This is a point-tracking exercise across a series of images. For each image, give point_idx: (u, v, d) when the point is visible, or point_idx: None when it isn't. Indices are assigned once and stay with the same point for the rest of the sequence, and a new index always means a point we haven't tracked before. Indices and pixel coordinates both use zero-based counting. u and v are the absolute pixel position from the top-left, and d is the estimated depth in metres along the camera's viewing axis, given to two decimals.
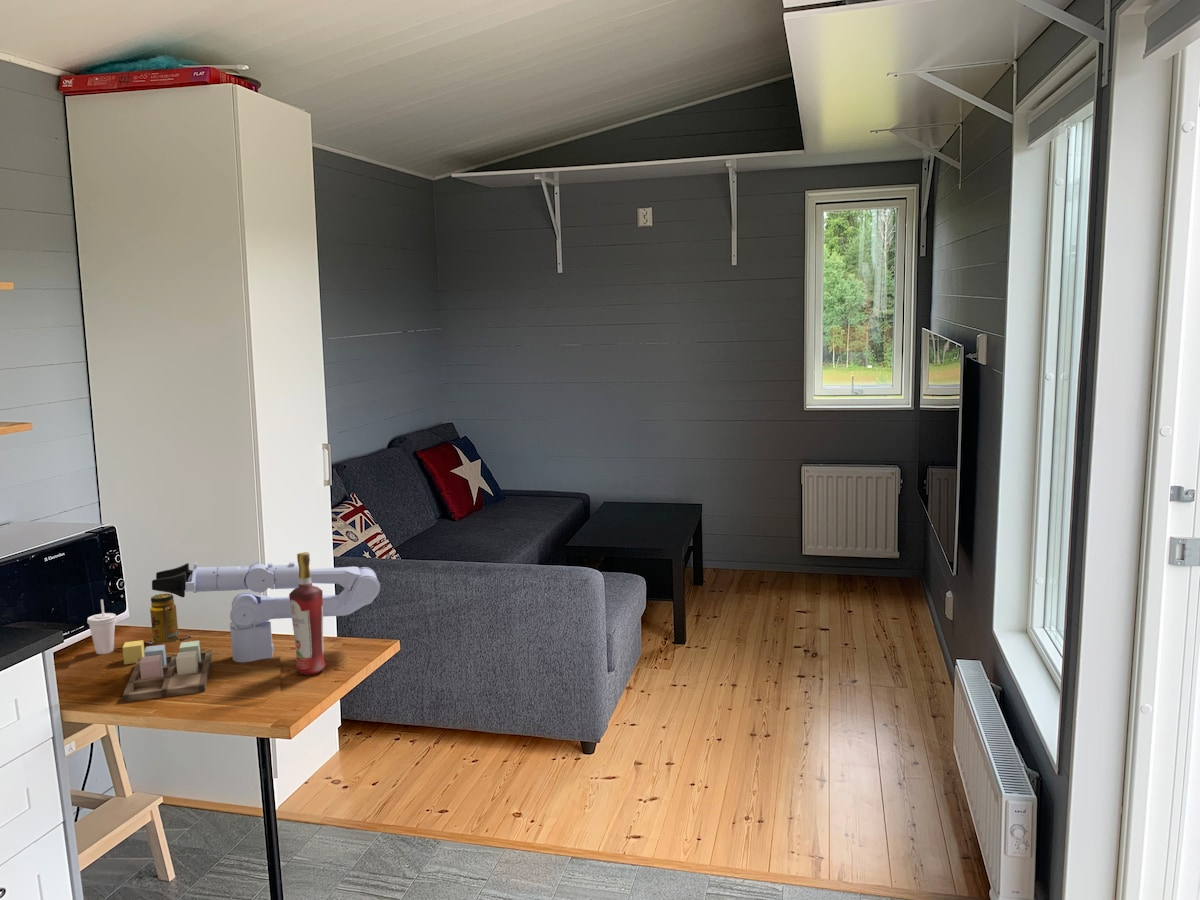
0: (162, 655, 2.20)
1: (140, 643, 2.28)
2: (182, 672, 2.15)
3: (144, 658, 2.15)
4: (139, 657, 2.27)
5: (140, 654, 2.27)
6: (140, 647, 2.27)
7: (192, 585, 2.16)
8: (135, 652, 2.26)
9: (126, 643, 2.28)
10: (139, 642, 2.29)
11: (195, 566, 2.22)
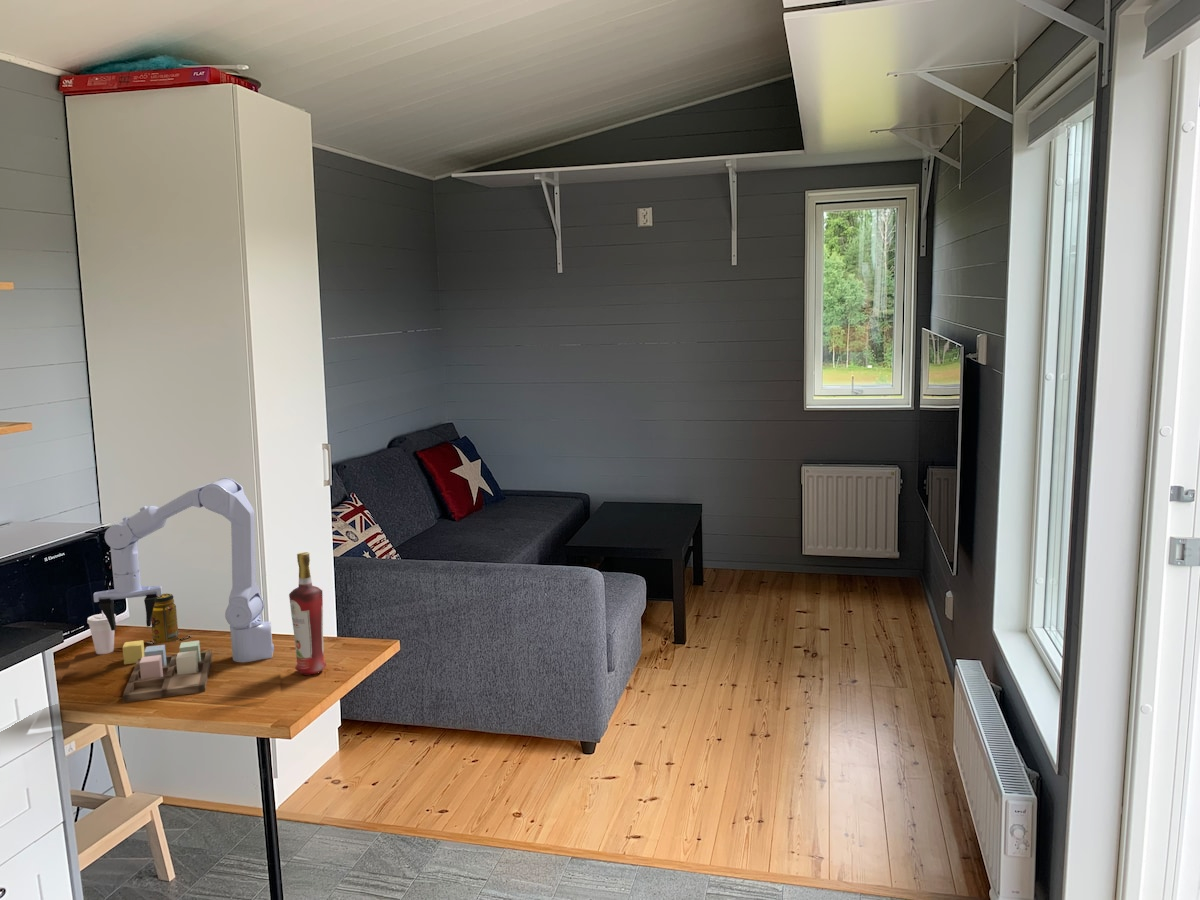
0: (162, 655, 2.20)
1: (140, 643, 2.28)
2: (182, 672, 2.15)
3: (144, 658, 2.15)
4: (139, 657, 2.27)
5: (140, 654, 2.27)
6: (140, 647, 2.27)
7: None
8: (135, 652, 2.26)
9: (126, 643, 2.28)
10: (139, 642, 2.29)
11: None
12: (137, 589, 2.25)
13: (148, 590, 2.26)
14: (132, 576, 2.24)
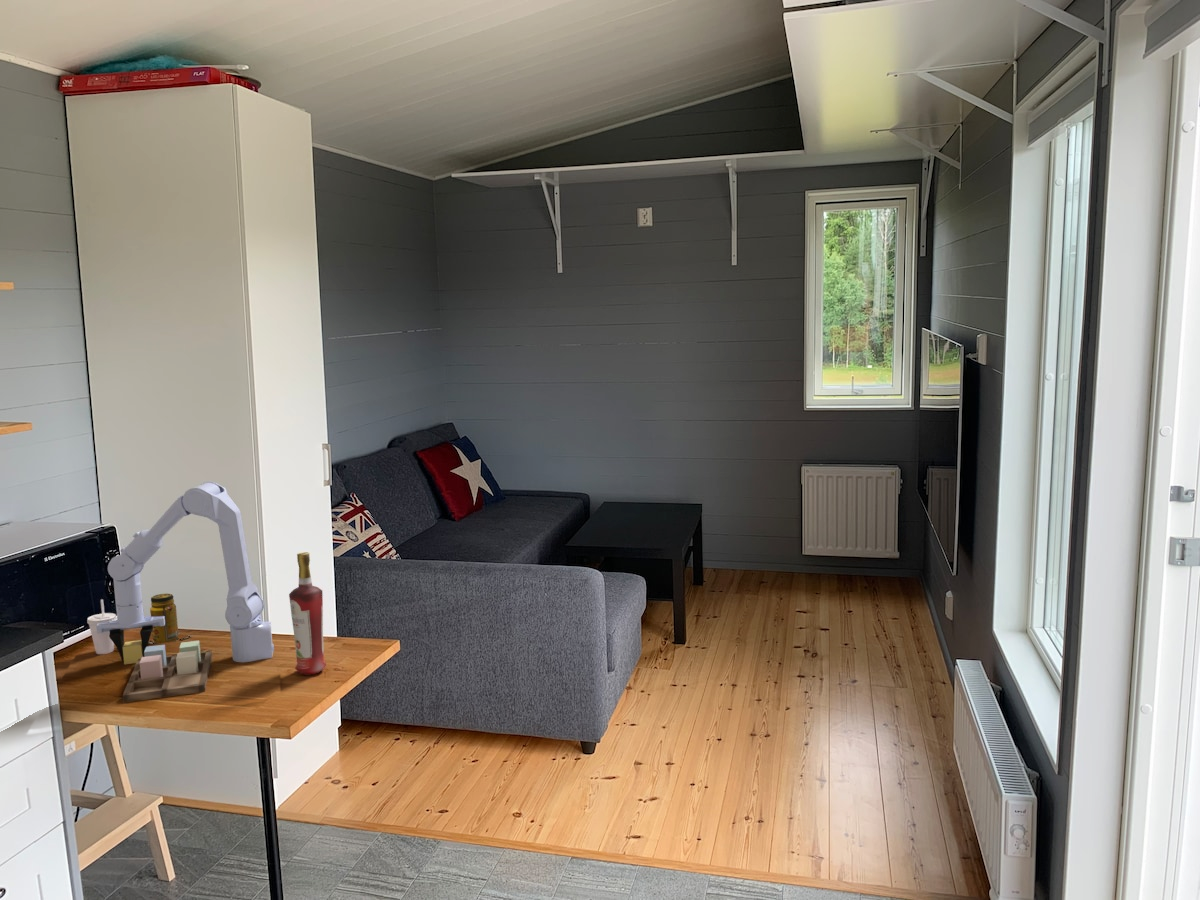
0: (162, 655, 2.20)
1: (140, 643, 2.28)
2: (182, 672, 2.15)
3: (144, 658, 2.15)
4: (139, 657, 2.27)
5: (140, 654, 2.27)
6: (140, 647, 2.27)
7: None
8: (135, 652, 2.26)
9: (126, 643, 2.28)
10: (139, 642, 2.29)
11: None
12: (140, 620, 2.26)
13: (151, 621, 2.27)
14: (135, 607, 2.25)
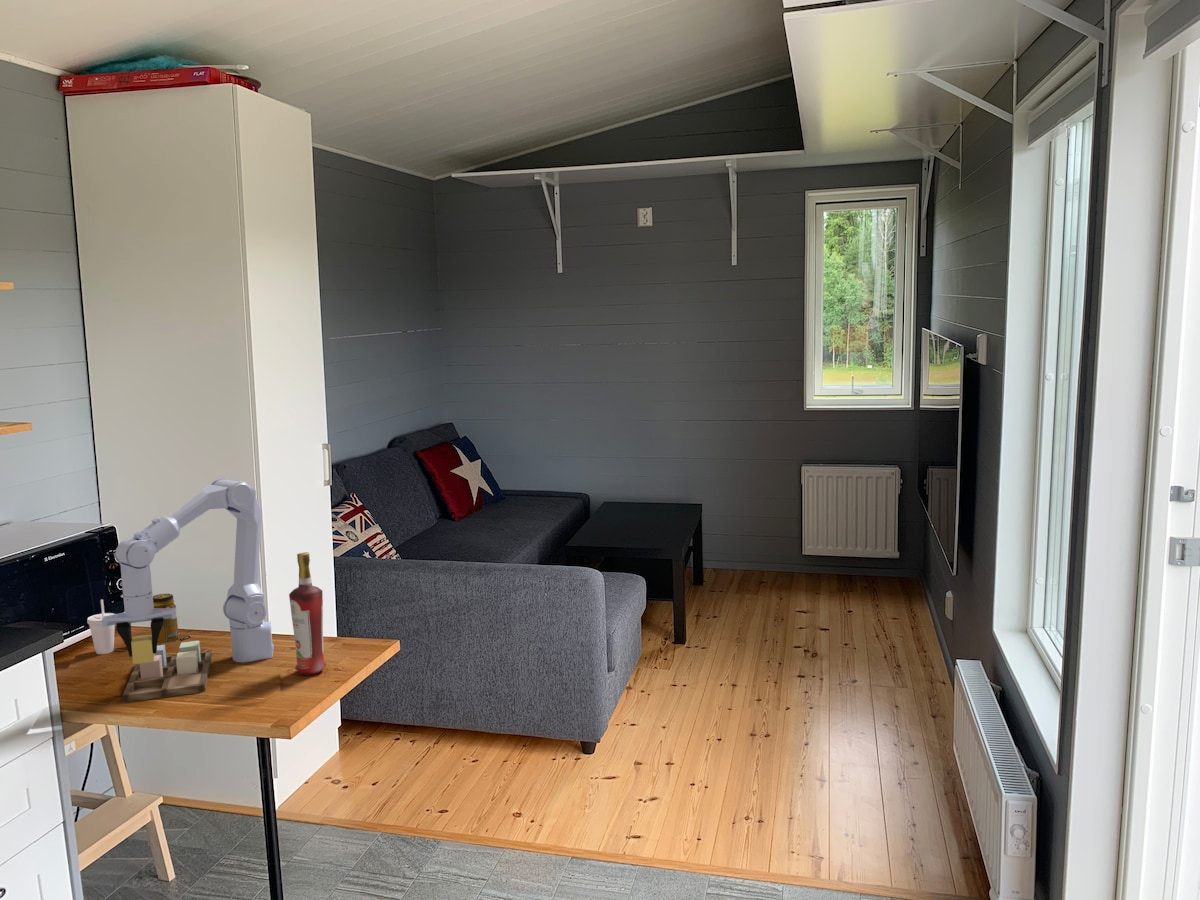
0: (162, 655, 2.20)
1: (150, 637, 2.09)
2: (182, 672, 2.15)
3: None
4: (149, 652, 2.08)
5: (150, 649, 2.08)
6: (150, 641, 2.08)
7: None
8: (145, 647, 2.07)
9: (134, 637, 2.09)
10: (149, 636, 2.10)
11: None
12: (150, 612, 2.07)
13: (162, 613, 2.08)
14: (145, 598, 2.05)
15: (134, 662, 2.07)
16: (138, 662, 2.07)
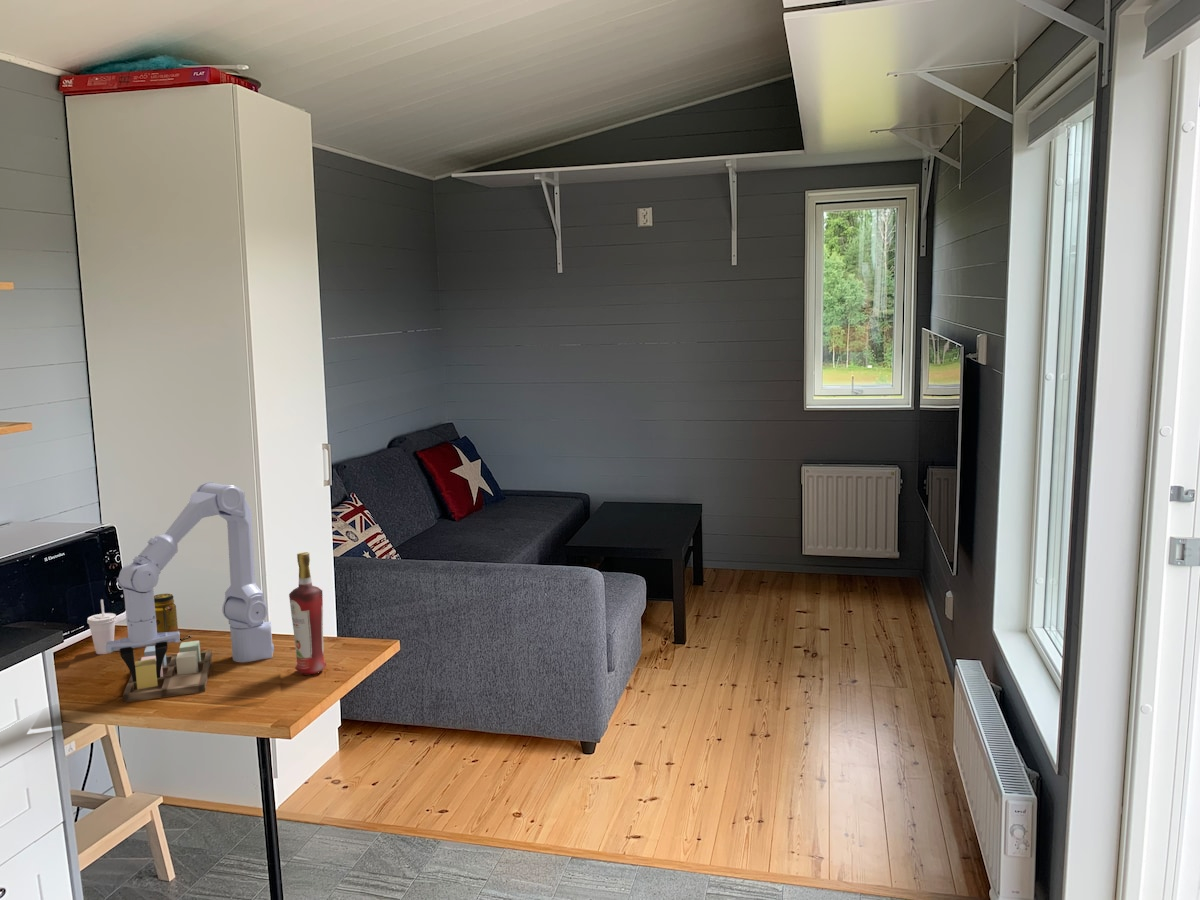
0: None
1: (153, 662, 2.08)
2: (182, 672, 2.15)
3: (144, 658, 2.15)
4: (153, 677, 2.07)
5: (154, 674, 2.07)
6: (154, 666, 2.07)
7: None
8: (149, 672, 2.06)
9: (136, 662, 2.08)
10: (152, 661, 2.09)
11: None
12: (154, 636, 2.06)
13: (166, 637, 2.07)
14: (149, 623, 2.04)
15: (138, 687, 2.06)
16: (142, 687, 2.06)
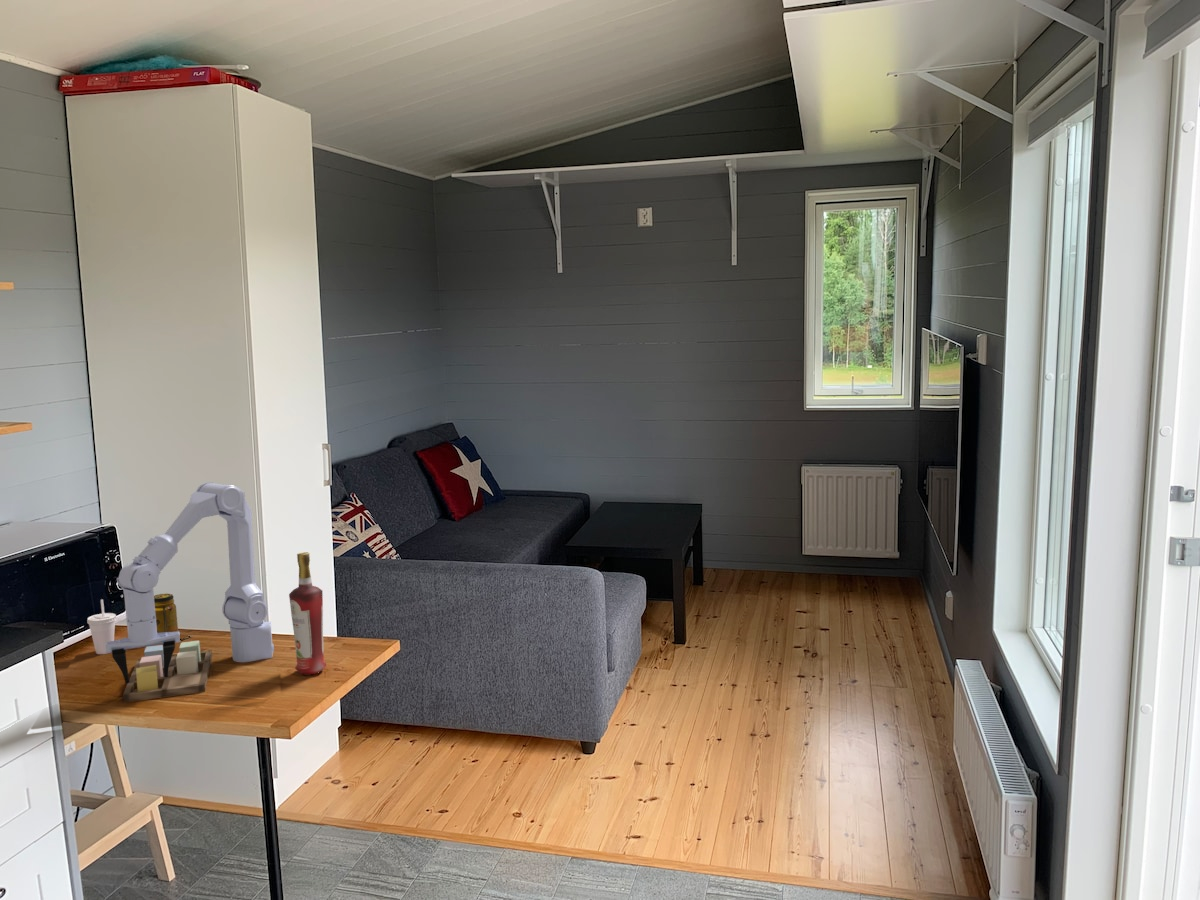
0: (162, 655, 2.20)
1: (154, 668, 2.08)
2: (182, 672, 2.15)
3: (144, 658, 2.15)
4: (154, 684, 2.07)
5: (155, 680, 2.07)
6: (155, 673, 2.07)
7: None
8: (150, 679, 2.07)
9: (137, 669, 2.08)
10: (152, 667, 2.09)
11: None
12: (154, 636, 2.06)
13: (166, 637, 2.07)
14: (149, 623, 2.04)
15: None
16: None
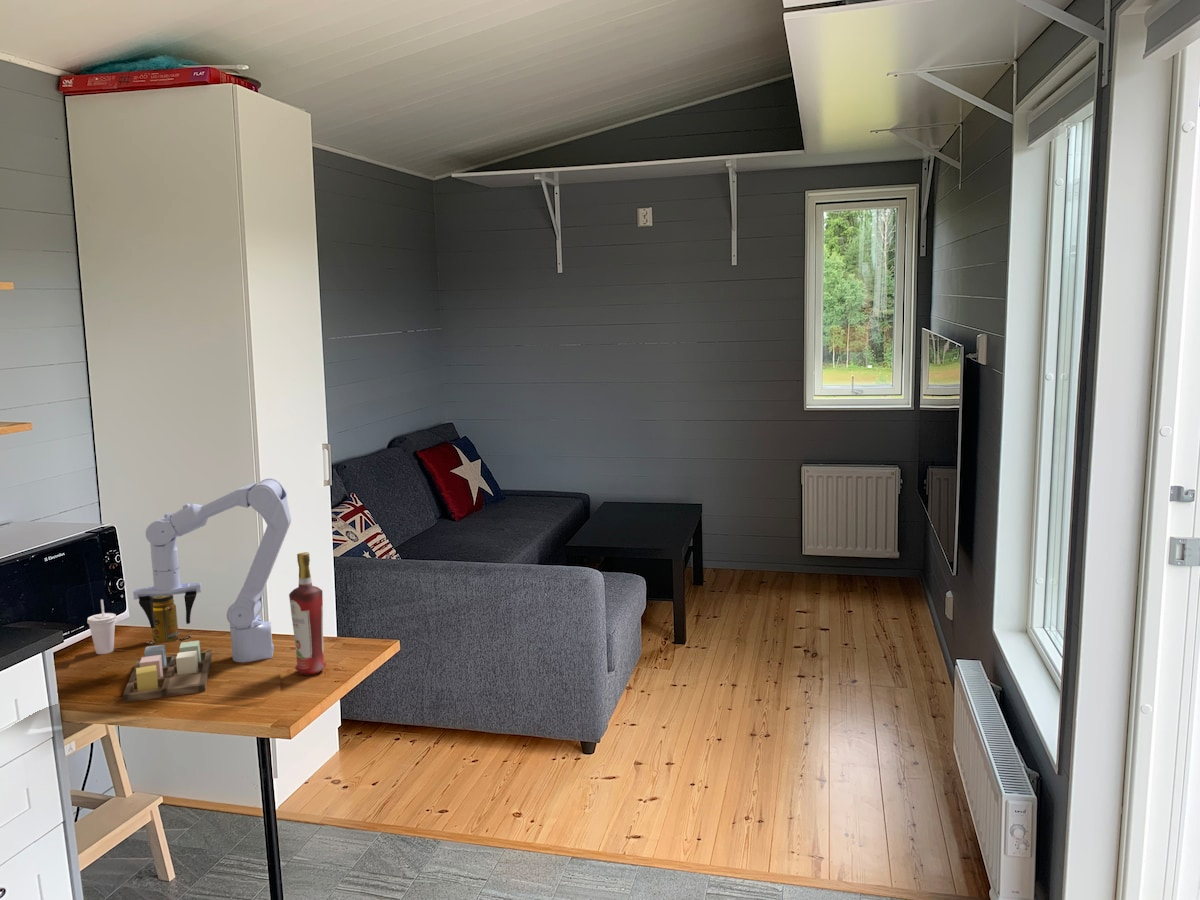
0: (162, 655, 2.20)
1: (154, 668, 2.08)
2: (182, 672, 2.15)
3: (144, 658, 2.15)
4: (154, 684, 2.07)
5: (155, 680, 2.07)
6: (155, 673, 2.07)
7: None
8: (150, 679, 2.07)
9: (137, 669, 2.08)
10: (152, 667, 2.09)
11: None
12: (177, 586, 2.24)
13: (188, 587, 2.25)
14: (172, 573, 2.22)
15: None
16: None
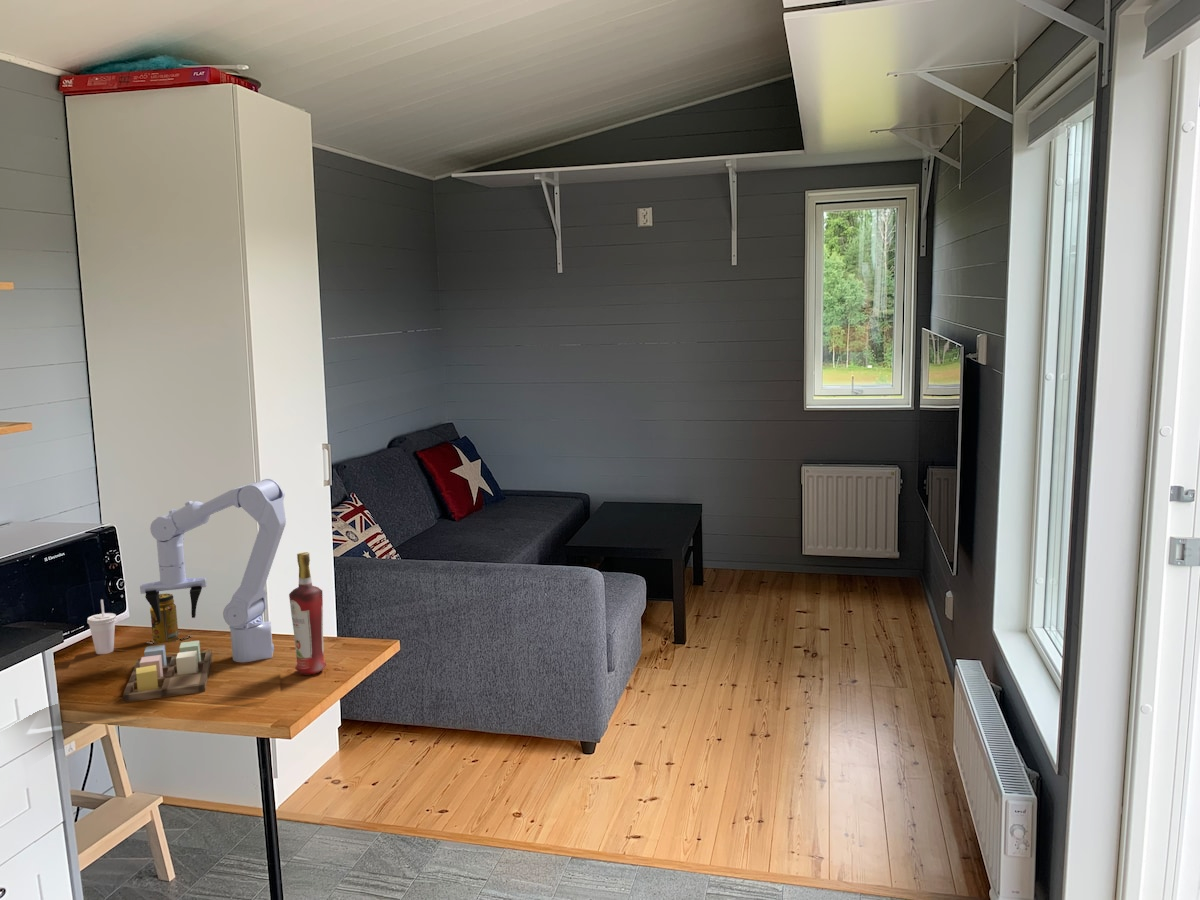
0: (162, 655, 2.20)
1: (154, 668, 2.08)
2: (182, 672, 2.15)
3: (144, 658, 2.15)
4: (154, 684, 2.07)
5: (155, 680, 2.07)
6: (155, 673, 2.07)
7: None
8: (150, 679, 2.07)
9: (137, 669, 2.08)
10: (152, 667, 2.09)
11: None
12: (182, 581, 2.28)
13: (193, 582, 2.29)
14: (178, 568, 2.27)
15: None
16: None
